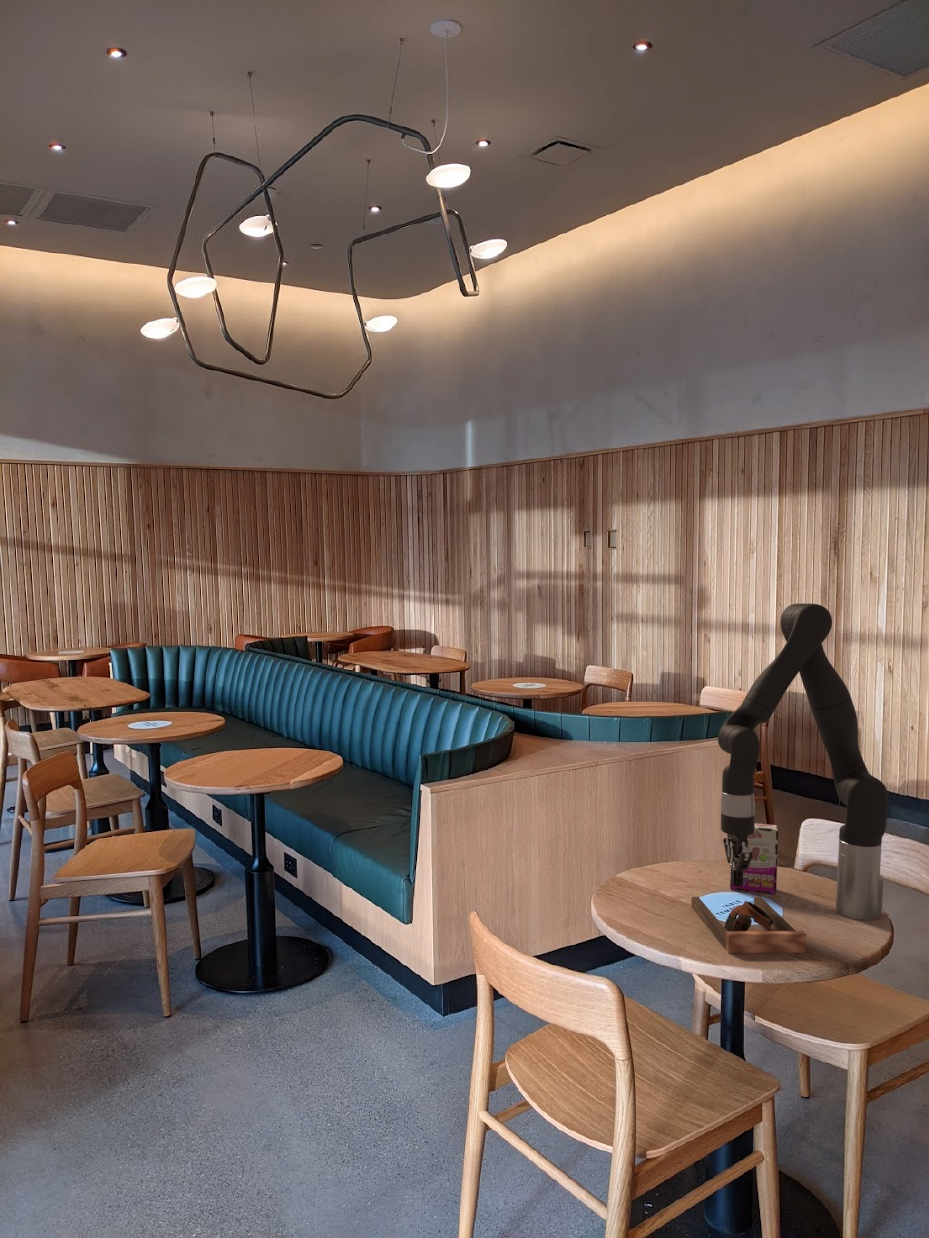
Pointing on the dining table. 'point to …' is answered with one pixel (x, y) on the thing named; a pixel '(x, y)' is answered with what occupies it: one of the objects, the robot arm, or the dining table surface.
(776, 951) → the bay
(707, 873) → the dining table surface
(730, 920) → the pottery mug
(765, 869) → the candy bar box
